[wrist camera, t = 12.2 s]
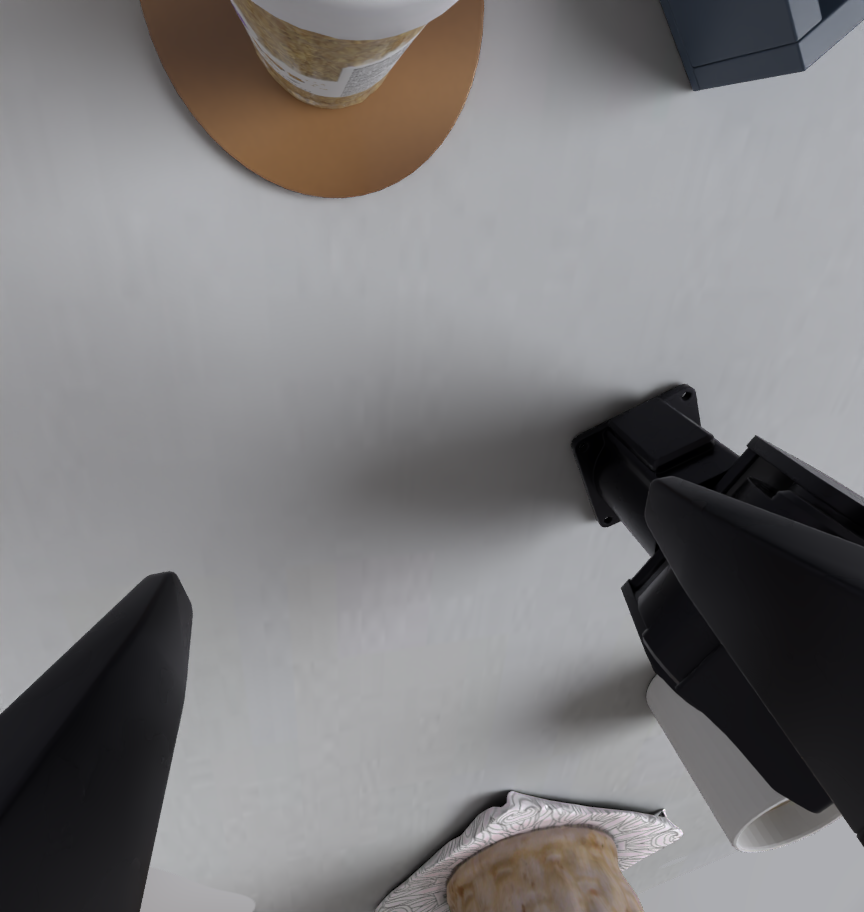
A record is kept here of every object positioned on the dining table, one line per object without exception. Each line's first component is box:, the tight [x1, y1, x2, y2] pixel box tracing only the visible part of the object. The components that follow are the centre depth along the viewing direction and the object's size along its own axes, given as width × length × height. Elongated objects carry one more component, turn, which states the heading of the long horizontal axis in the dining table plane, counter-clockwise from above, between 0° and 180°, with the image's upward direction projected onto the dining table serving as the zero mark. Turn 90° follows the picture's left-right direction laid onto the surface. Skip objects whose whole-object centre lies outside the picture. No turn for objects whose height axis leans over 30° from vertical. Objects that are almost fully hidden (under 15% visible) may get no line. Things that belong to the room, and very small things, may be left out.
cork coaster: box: [140, 0, 484, 198], centre depth 15 cm, size 10×10×1 cm
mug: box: [646, 675, 842, 852], centre depth 35 cm, size 11×10×10 cm
